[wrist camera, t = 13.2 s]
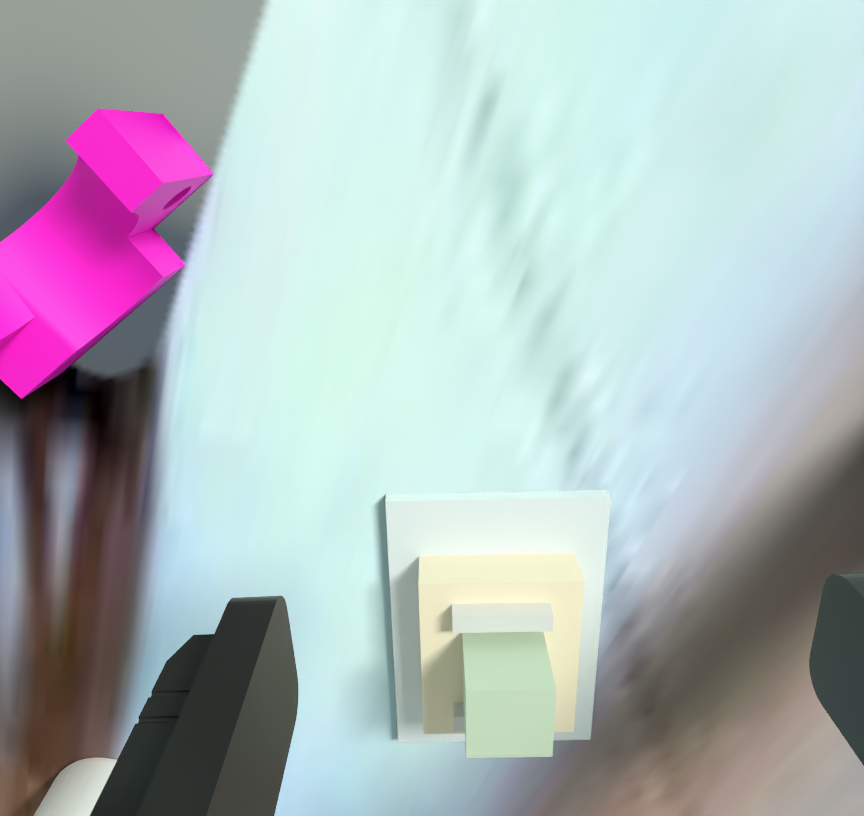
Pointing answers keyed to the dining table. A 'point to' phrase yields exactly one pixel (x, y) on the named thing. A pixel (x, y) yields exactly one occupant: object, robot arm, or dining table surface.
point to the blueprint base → (491, 536)
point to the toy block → (93, 244)
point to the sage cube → (508, 695)
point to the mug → (77, 788)
